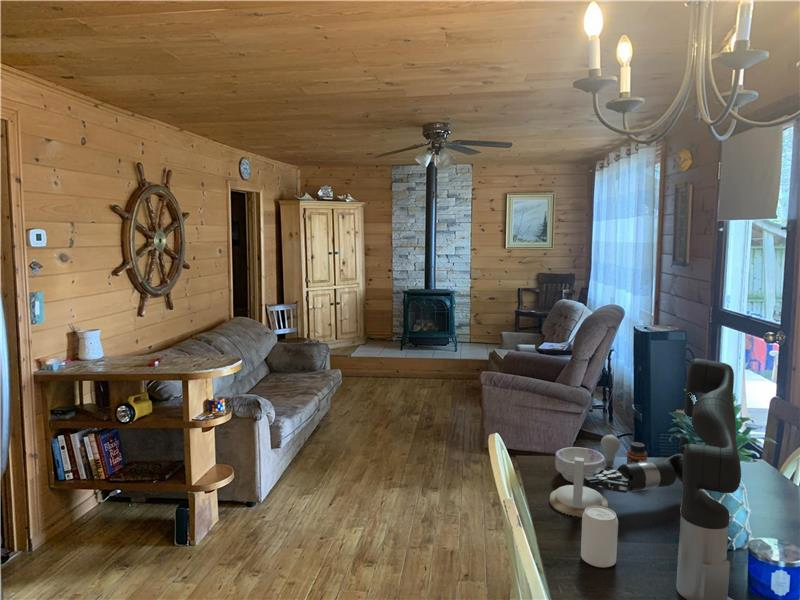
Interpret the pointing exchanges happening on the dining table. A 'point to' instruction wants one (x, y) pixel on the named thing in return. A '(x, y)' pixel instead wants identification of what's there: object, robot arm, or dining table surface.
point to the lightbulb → (610, 448)
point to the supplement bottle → (636, 453)
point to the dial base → (570, 510)
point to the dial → (578, 490)
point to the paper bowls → (567, 460)
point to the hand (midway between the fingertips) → (585, 482)
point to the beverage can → (599, 536)
